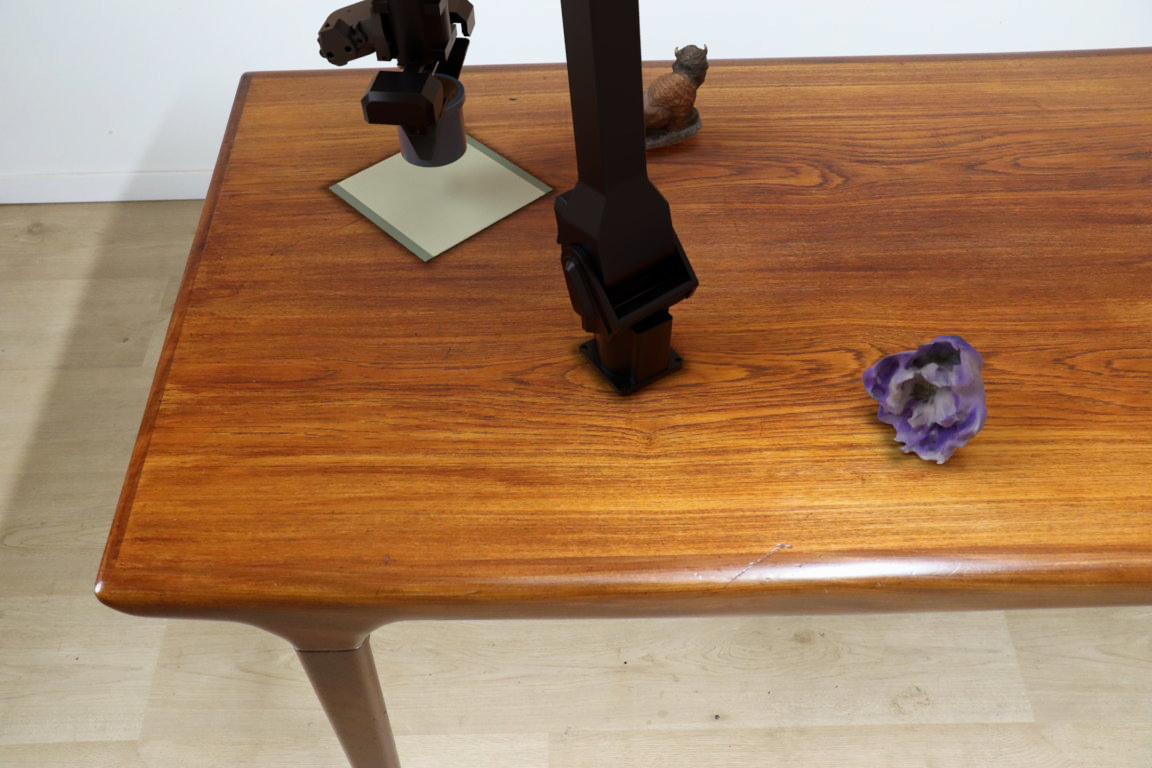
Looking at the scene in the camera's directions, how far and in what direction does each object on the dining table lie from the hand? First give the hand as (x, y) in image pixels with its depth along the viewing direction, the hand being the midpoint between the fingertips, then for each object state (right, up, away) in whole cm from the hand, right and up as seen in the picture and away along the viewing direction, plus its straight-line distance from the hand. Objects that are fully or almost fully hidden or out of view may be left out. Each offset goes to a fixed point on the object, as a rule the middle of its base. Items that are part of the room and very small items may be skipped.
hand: (433, 139), depth 91 cm
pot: (0, -1, +1) cm, 1 cm away
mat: (0, -4, +4) cm, 6 cm away
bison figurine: (+21, +2, +10) cm, 23 cm away
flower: (+41, -26, -17) cm, 51 cm away
